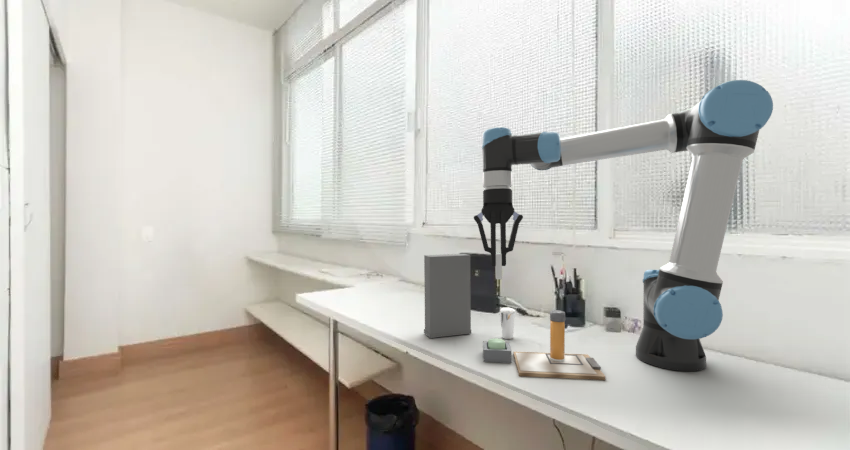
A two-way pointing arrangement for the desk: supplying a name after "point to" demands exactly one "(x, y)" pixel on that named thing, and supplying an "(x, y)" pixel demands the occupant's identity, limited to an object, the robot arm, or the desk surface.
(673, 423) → the desk surface
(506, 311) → the milkshake
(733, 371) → the desk surface
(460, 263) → the tall grey upright box
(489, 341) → the button
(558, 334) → the orange capped bottle
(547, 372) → the clipboard
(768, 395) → the desk surface
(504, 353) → the button housing
